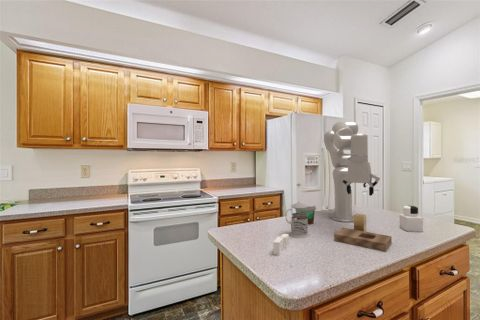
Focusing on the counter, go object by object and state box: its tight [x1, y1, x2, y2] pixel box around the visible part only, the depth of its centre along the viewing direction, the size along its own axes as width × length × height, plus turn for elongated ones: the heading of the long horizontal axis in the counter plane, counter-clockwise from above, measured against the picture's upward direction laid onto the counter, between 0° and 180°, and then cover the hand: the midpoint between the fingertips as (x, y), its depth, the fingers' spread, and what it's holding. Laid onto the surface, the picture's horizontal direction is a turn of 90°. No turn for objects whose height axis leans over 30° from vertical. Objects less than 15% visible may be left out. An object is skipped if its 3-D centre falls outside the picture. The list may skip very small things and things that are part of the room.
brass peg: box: [353, 213, 367, 232], centre depth 115 cm, size 4×4×9 cm
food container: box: [293, 205, 317, 225], centre depth 134 cm, size 12×6×10 cm, turn 73°
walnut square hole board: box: [333, 227, 393, 252], centre depth 103 cm, size 20×12×3 cm, turn 48°
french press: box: [284, 182, 311, 238], centre depth 115 cm, size 10×12×25 cm
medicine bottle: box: [399, 205, 424, 233], centre depth 119 cm, size 7×7×12 cm
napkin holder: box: [272, 233, 290, 256], centre depth 96 cm, size 15×11×6 cm
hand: (359, 194), depth 115 cm, fingers open, 9 cm apart
